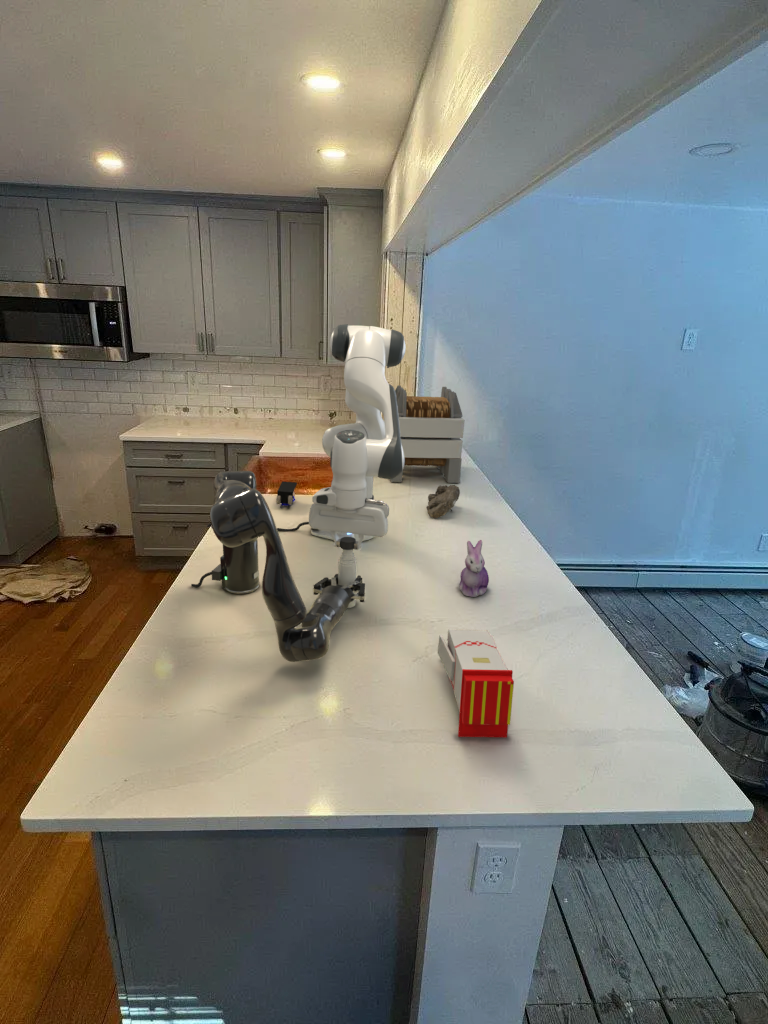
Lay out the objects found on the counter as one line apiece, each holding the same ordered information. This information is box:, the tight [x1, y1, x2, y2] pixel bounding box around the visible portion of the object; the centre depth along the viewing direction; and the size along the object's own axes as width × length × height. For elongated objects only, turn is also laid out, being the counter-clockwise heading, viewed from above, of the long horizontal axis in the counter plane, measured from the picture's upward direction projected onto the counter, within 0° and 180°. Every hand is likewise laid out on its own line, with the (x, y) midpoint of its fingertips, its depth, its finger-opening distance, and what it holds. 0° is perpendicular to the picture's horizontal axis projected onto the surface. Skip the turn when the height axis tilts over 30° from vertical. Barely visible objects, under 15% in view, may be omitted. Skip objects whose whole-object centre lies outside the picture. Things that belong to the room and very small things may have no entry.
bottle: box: [337, 549, 358, 609], centre depth 149 cm, size 5×5×18 cm
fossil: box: [426, 484, 461, 519], centre depth 223 cm, size 22×10×15 cm
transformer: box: [390, 384, 465, 484], centre depth 268 cm, size 34×33×41 cm
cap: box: [339, 537, 356, 550], centre depth 146 cm, size 4×4×2 cm
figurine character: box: [275, 480, 298, 509], centre depth 223 cm, size 7×8×15 cm
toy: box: [437, 628, 515, 738], centre depth 117 cm, size 12×13×30 cm
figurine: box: [459, 539, 490, 598], centre depth 159 cm, size 9×10×15 cm
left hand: (349, 577), depth 152 cm, fingers closed on bottle, 4 cm apart
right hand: (347, 547), depth 146 cm, fingers closed on cap, 4 cm apart
